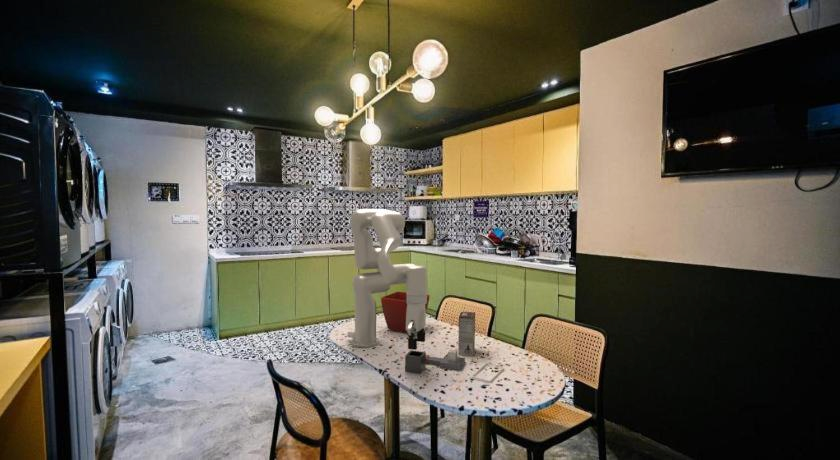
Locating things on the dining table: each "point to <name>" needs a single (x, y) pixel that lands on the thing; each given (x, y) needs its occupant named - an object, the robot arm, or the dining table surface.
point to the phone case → (486, 379)
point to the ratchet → (447, 361)
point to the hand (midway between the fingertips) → (416, 345)
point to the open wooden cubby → (415, 361)
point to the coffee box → (466, 333)
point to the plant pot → (396, 310)
